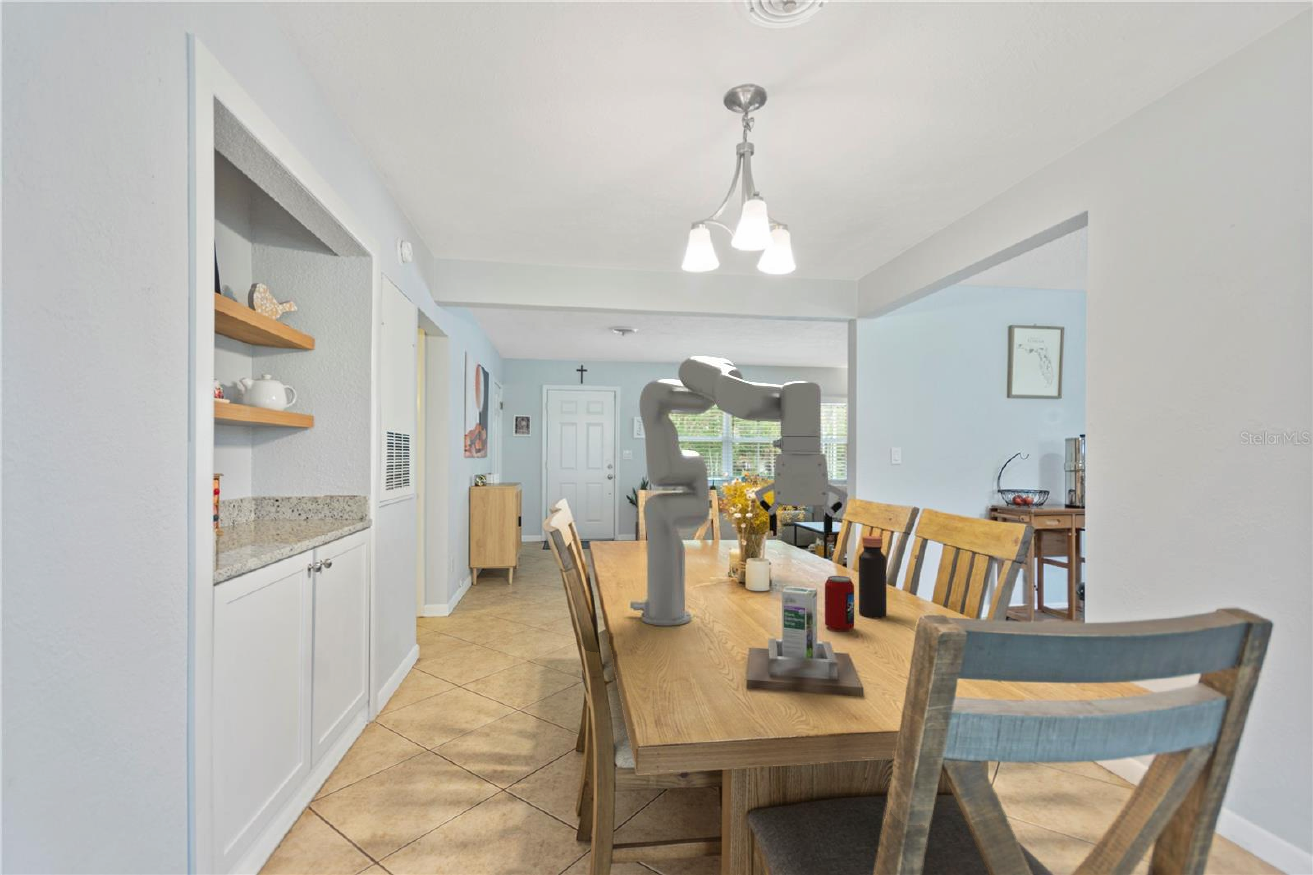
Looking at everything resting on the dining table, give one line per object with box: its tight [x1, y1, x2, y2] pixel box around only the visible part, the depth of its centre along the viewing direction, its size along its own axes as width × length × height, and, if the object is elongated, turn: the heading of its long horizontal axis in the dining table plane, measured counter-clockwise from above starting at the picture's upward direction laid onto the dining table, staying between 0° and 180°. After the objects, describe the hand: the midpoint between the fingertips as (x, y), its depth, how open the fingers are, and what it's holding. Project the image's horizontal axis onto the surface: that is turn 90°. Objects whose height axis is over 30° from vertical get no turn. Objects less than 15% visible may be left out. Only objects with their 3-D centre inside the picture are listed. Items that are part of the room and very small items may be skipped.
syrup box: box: [781, 585, 818, 659], centre depth 116 cm, size 6×6×14 cm
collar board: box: [746, 638, 864, 697], centre depth 116 cm, size 20×18×4 cm
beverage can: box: [824, 575, 855, 632], centre depth 146 cm, size 7×7×12 cm
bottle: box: [858, 535, 888, 619], centre depth 158 cm, size 7×7×20 cm
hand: (800, 535), depth 117 cm, fingers open, 9 cm apart
